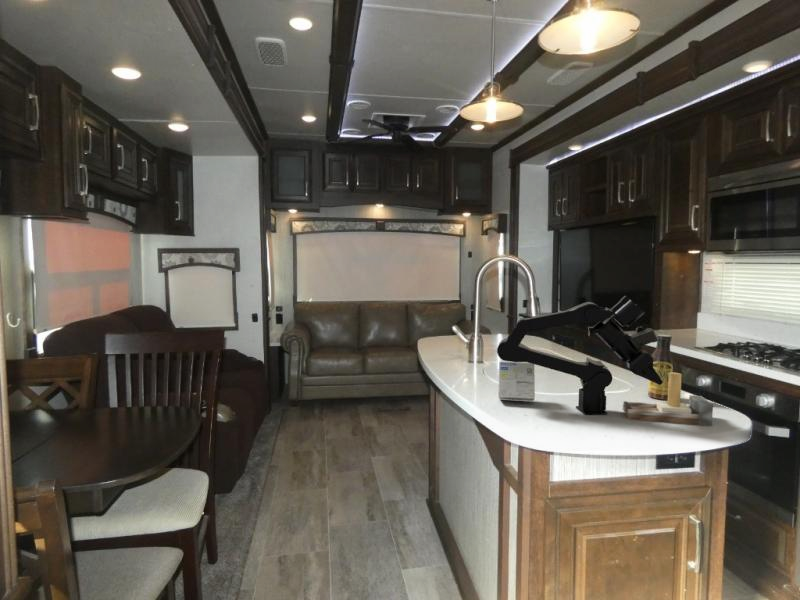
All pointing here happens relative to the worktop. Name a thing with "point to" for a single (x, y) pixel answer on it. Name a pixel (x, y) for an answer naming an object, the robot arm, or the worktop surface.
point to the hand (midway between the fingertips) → (657, 379)
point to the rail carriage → (674, 396)
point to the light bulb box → (516, 381)
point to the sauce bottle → (661, 367)
